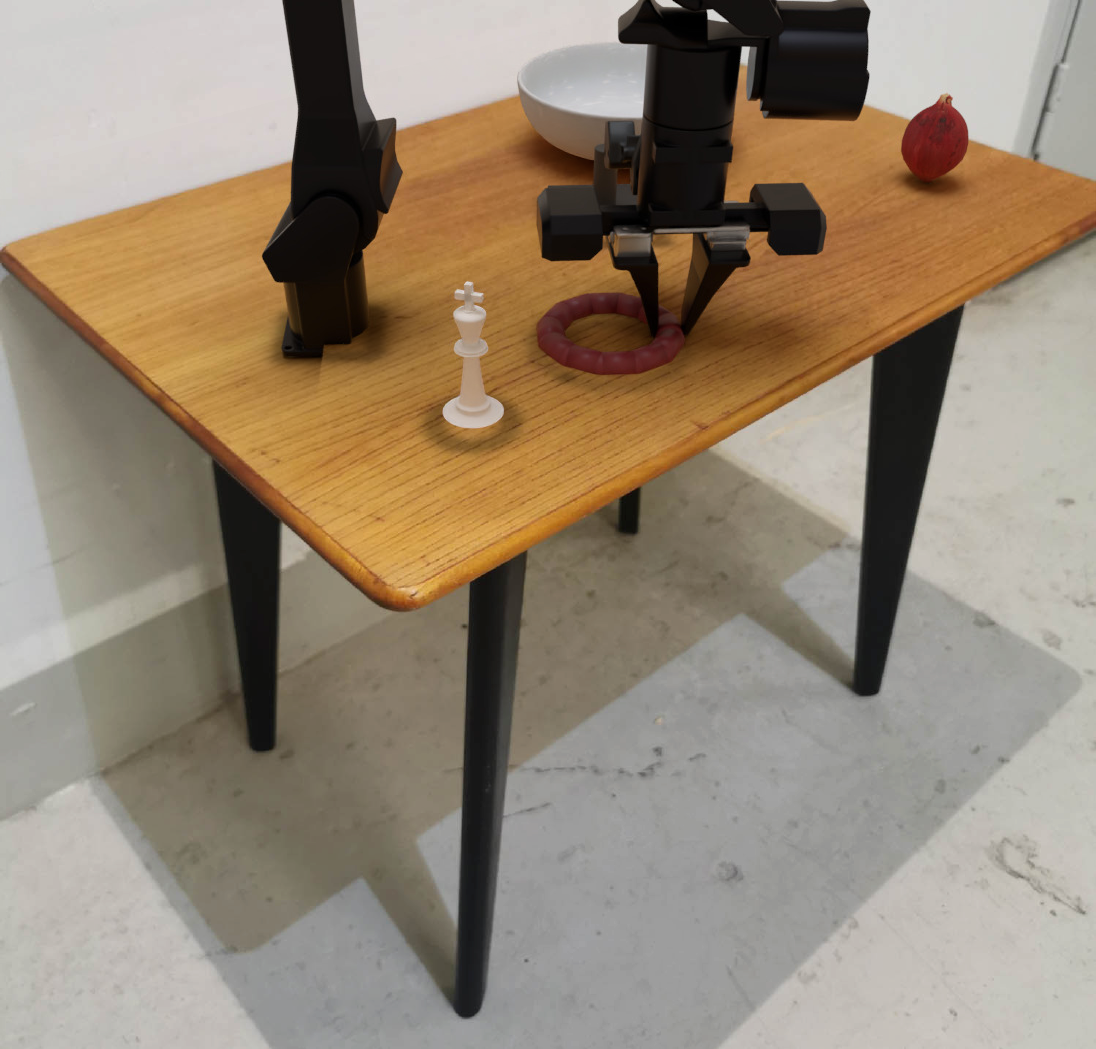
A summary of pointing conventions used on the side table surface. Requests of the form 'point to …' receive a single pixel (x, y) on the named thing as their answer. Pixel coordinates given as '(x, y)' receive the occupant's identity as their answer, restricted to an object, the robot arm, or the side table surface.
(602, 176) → the post
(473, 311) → the chess piece
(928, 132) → the onion
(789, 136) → the side table surface
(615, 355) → the ring
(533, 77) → the serving bowl
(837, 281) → the side table surface
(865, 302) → the side table surface
